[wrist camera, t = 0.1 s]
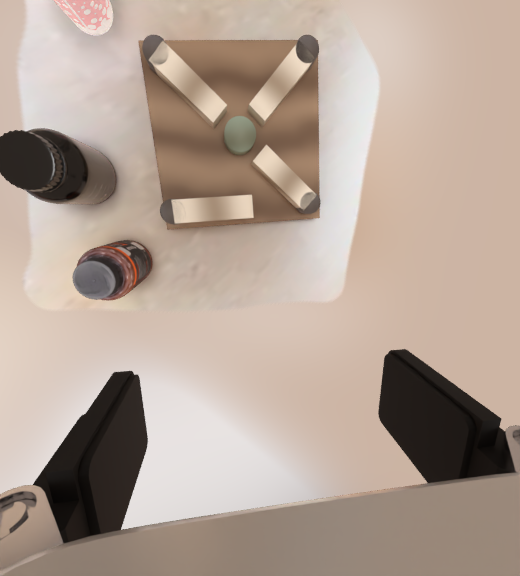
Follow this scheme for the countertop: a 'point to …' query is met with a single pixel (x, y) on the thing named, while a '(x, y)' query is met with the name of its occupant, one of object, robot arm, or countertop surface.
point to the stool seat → (236, 123)
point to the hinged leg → (207, 209)
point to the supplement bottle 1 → (55, 167)
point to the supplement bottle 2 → (112, 270)
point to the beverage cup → (89, 14)
